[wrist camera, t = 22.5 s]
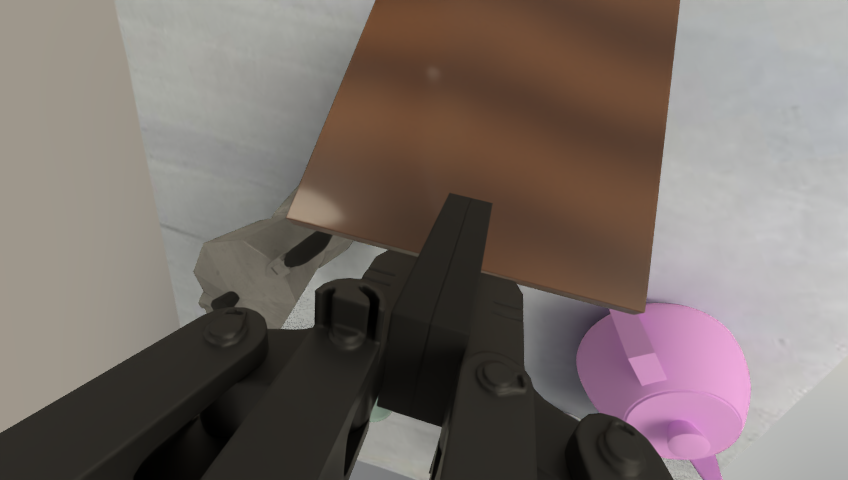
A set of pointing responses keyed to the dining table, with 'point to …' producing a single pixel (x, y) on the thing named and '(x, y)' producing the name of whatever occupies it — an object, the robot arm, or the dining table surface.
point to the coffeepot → (264, 265)
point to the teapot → (669, 380)
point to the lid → (505, 137)
